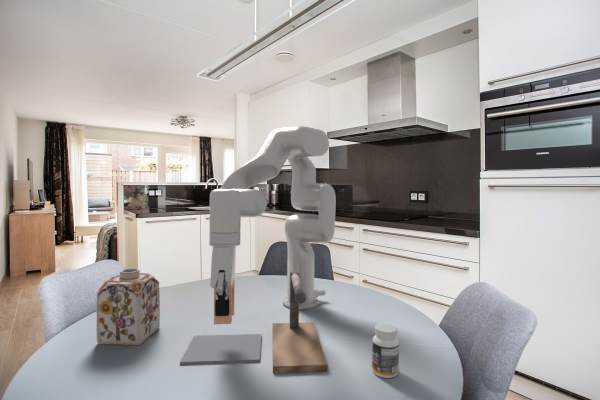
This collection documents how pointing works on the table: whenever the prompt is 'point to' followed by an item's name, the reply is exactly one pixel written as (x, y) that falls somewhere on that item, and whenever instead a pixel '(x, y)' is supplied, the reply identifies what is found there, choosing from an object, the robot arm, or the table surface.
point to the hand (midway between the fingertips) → (224, 309)
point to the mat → (223, 349)
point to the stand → (297, 338)
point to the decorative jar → (128, 308)
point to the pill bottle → (385, 351)
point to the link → (231, 306)
